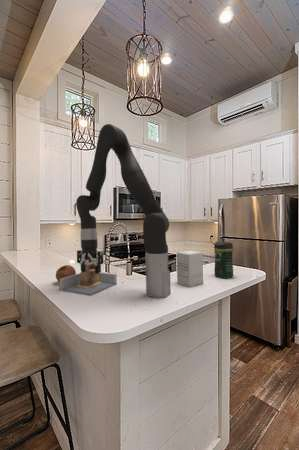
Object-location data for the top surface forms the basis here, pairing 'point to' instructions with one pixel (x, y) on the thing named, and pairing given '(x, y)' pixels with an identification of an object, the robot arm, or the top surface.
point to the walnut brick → (88, 278)
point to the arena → (74, 286)
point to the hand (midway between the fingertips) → (90, 272)
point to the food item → (90, 265)
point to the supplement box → (190, 268)
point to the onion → (65, 272)
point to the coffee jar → (223, 259)
